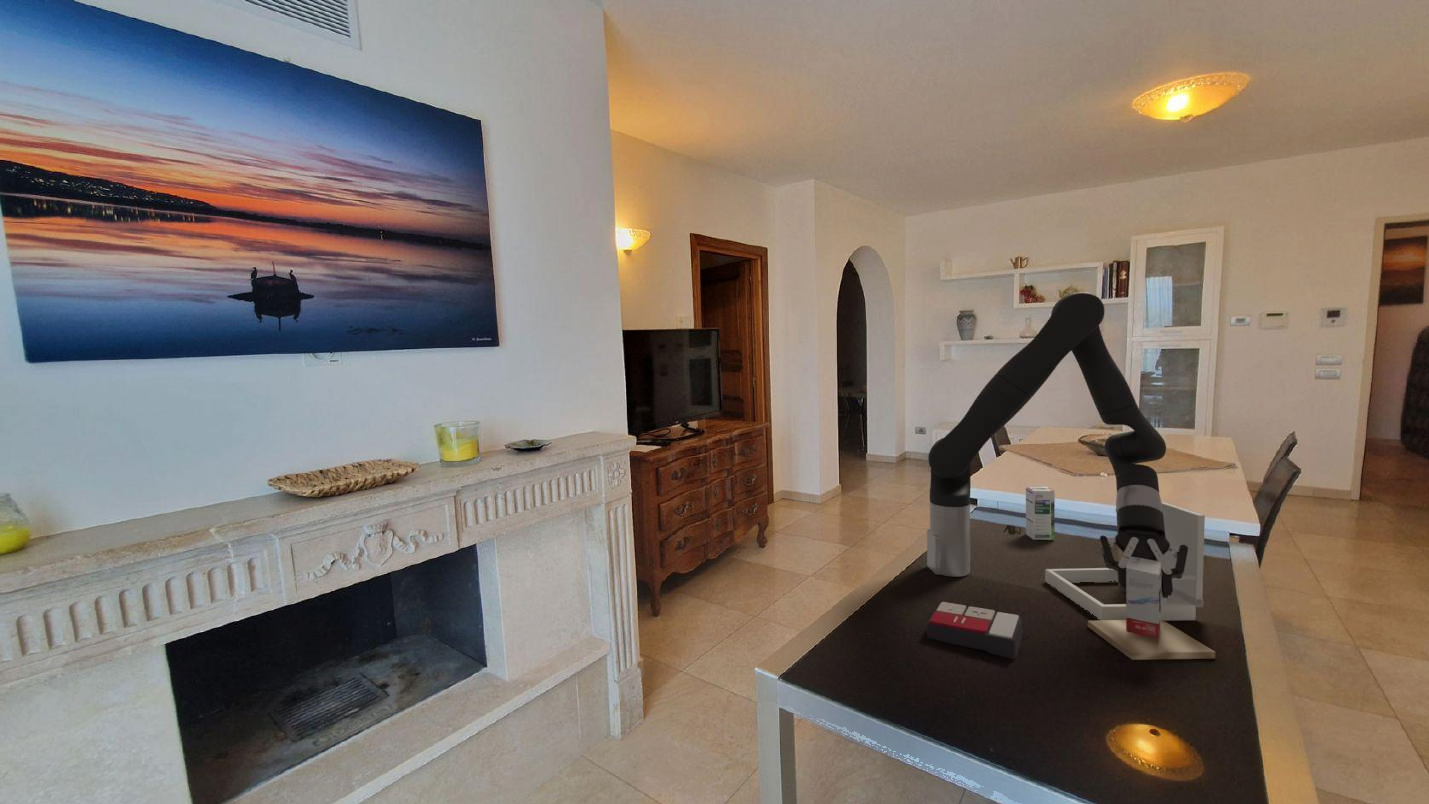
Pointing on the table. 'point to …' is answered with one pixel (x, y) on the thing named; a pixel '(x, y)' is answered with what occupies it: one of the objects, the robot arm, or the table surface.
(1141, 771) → the table surface
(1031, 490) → the syrup box
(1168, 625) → the oak board
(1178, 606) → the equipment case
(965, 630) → the grey red white block
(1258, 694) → the table surface
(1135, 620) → the ink box
